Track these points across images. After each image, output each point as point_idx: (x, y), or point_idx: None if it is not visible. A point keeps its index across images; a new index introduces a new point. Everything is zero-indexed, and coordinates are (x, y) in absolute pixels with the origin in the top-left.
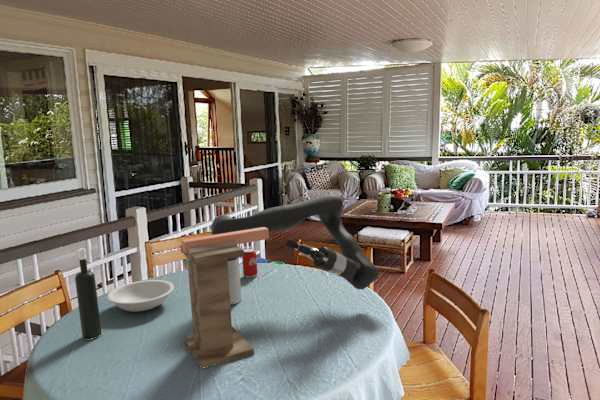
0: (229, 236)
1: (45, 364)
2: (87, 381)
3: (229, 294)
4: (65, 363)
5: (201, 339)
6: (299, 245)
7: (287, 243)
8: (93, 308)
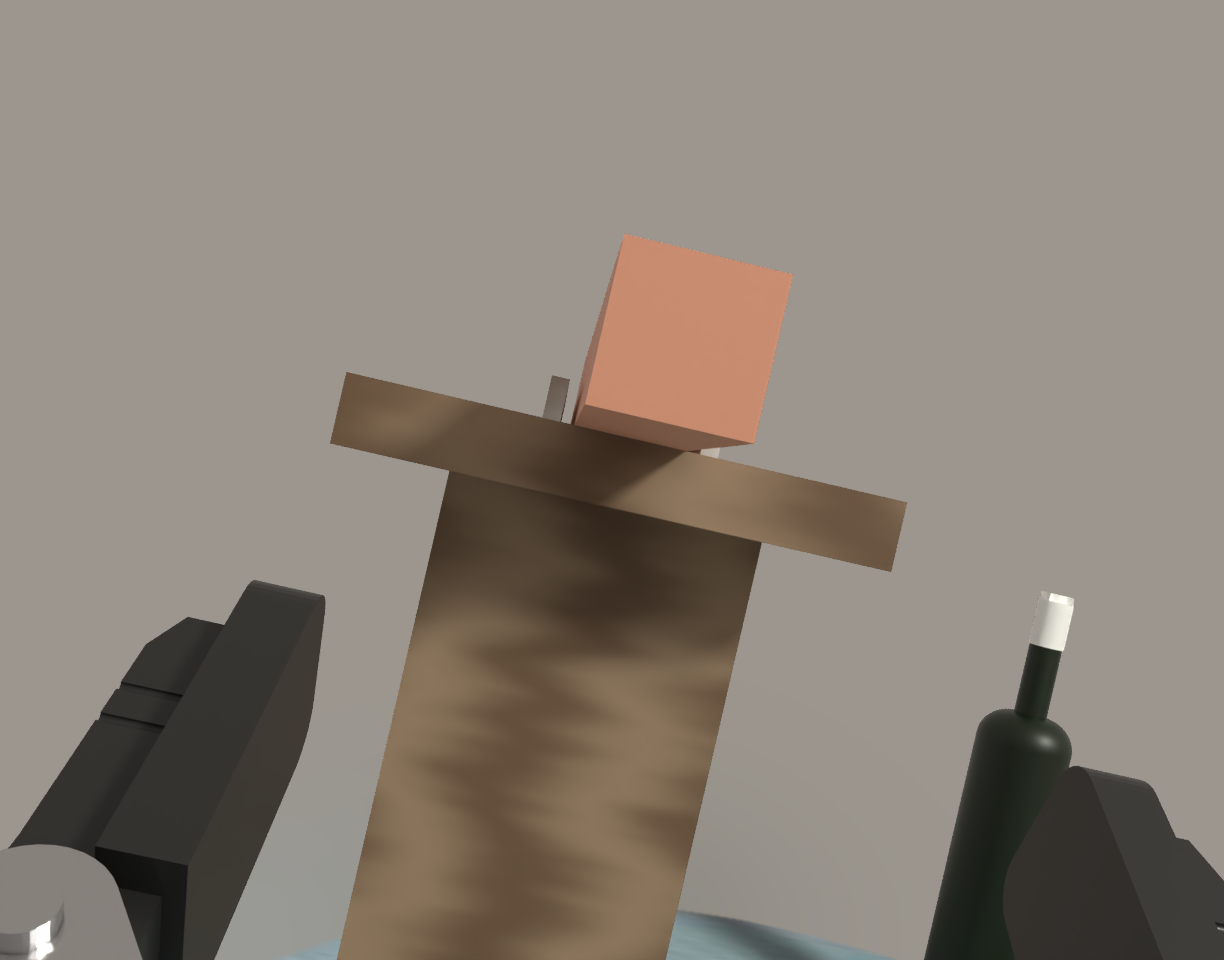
0: (594, 334)
1: (731, 931)
2: None
3: (366, 834)
4: (705, 953)
5: None
6: (316, 606)
7: (1032, 866)
8: (956, 896)
